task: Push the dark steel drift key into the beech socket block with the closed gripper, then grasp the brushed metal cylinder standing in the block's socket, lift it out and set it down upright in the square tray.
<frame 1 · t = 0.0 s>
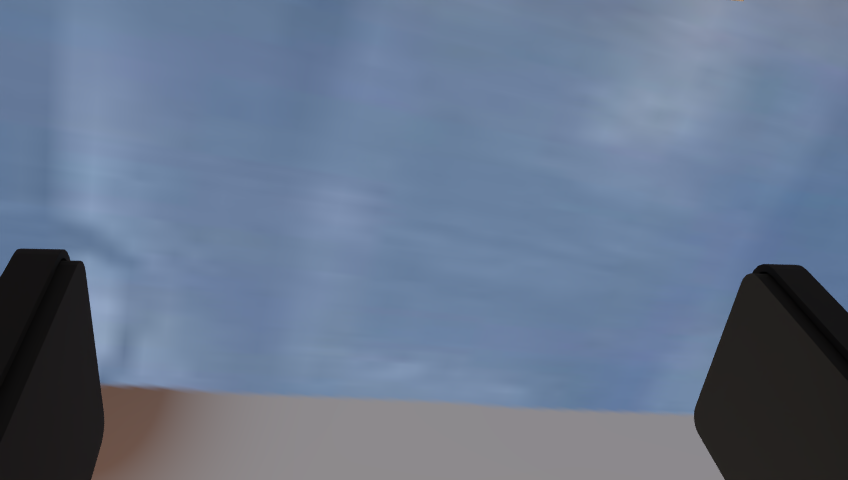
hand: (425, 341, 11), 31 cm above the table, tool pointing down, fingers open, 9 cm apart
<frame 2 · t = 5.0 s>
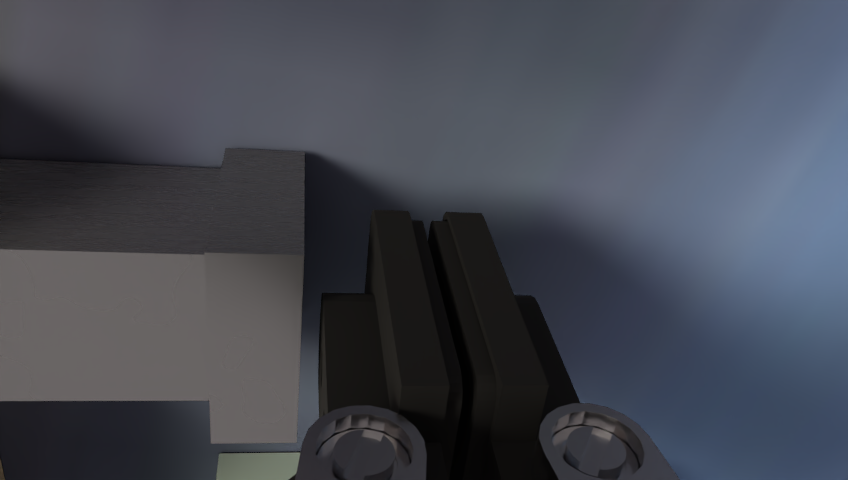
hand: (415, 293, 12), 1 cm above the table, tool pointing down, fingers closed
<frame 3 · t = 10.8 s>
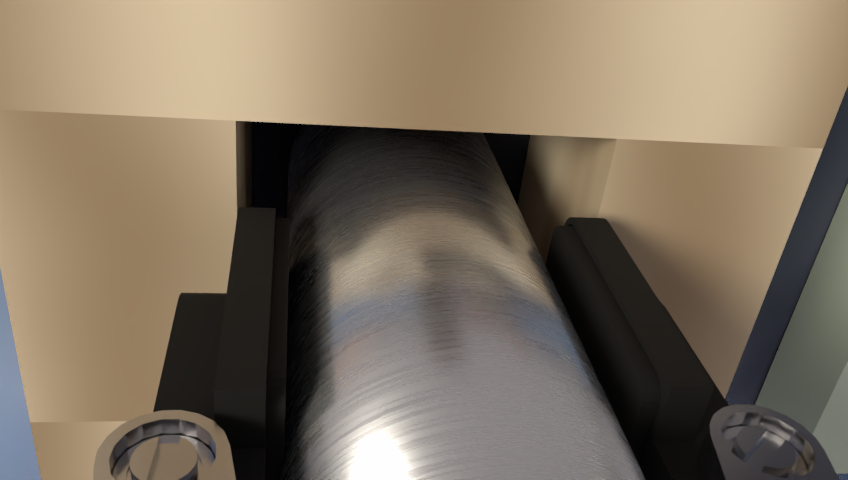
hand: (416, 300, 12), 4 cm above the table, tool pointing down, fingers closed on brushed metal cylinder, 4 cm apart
socket block: (402, 52, 15), on the table
brushed metal cylinder: (390, 174, 16), resting in socket block, touching gripper
when the fingers open (6 cm above the table, at t = 16.0 s): brushed metal cylinder drops 1 cm, resting on square tray.
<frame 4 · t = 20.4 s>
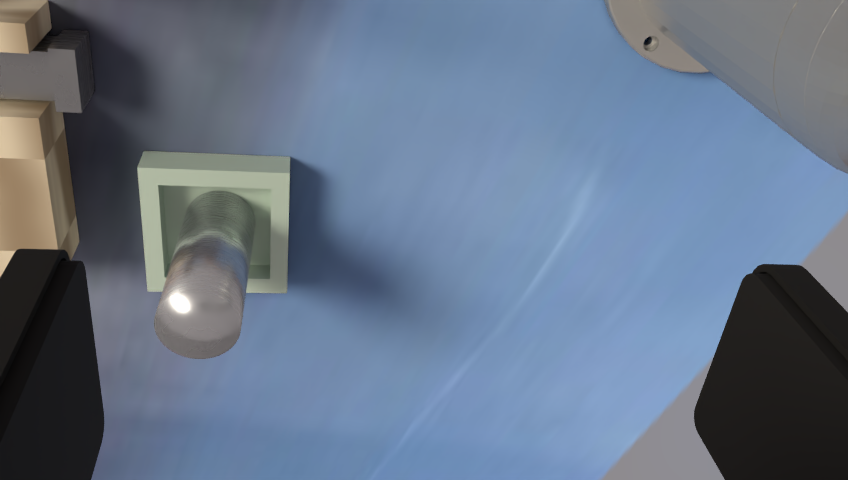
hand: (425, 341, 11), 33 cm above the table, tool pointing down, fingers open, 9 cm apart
square tray: (219, 215, 47), on the table
brushed metal cylinder: (220, 220, 47), point 1 cm above the table, touching square tray
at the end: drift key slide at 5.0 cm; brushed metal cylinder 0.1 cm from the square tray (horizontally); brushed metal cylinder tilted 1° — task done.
